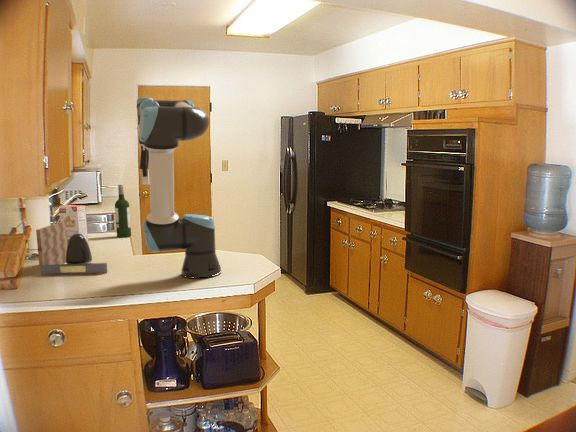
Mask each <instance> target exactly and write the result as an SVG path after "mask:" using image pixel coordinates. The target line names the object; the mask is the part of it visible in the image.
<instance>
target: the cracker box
mask: <svg viewBox="0 0 576 432" xmlns="http://www.w3.org/2000/svg"><path fill="white" fill-rule="evenodd" d="M58 211H59V220H60V221H59V222H64V221H66V233H67V245H68V242H69V239H70V238H71V236H72V235H74V234H77V233H78V234H82V235H83V236H84V238H85V239H86V241H87V243H88V244H89V235H88V234H89V233H88V222H87V209H86V205H78V204H77V205H75V204H64V205H62V204H61V205H58Z"/></svg>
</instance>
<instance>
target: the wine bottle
mask: <svg viewBox="0 0 576 432" xmlns="http://www.w3.org/2000/svg"><path fill="white" fill-rule="evenodd" d="M117 187H118V199H117V200H116V202H115V203H114V212H115V213H114V214H115V227H116V237H117V238H119V239H120V238H122V239H123V238H125V239H126V238H130V237H132V227H131V226H132V225H131V212H130V202H129V201H128V200H127V199H125V192H124V184H117Z"/></svg>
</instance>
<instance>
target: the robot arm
mask: <svg viewBox="0 0 576 432" xmlns="http://www.w3.org/2000/svg"><path fill="white" fill-rule="evenodd" d="M135 106H136V114H137V127H136V129H137V130H138V143H139V144H140V159H139V160H140V161H139V169H140V170H141V174H142V175H141V178H142V180H141V181H142V186H143V185H145V186H146V185H149V202H150V203H149V204H150V207H149V210H150V211H149V212H150V213H148V214H147V215H146V220H144V221H143V222H142V223H141V224H142V230H143V234H144V240H145V244H146V247H147V248H146V249H147V250H148V252H152V253H153V252H154V253H157V252H160V253H162V252H171V251H177V250H179V251H180V250H184V253H185V254H184V259H183V263H182V267H181V276H182V275H183V276H186V277H194V278H193V279H200V278H199V277H208V276H212V275H215V274H217V273H219V272H220V271H221V272H222V268H221V264H220V261H219V260H218V259H219V258H218V256H217V253H216V238H215V237H216V233H215V229H216V228H215V221H214V218H213V217H212V216H210V215H209V216H208V215H203V214H194V213H193V214H190V213H186V214H184V215H182V218H180V217H179V215H178V213H176V212H175V163H174V162H175V155H174V154H175V152H174V151H175V150H177V148H178V147H179V142H180V141H182V142H185V141H193V140H196V139H198V138H200V137H202V136H203V135H204V134H205V133H206V131H207V130H208V128H209V126H210V119H209V116H208V113H206V111H205V110H203V109H201V108H199V107H196V106H195V105H194V102H193V101H192V100H186V99H183V100H164V99H163V100H162V99H159V100H158V99H154V98H152V97H140V98H137V99H136V105H135ZM148 168H149V169H148ZM183 276H182V277H183ZM186 277H185V278H186ZM195 277H197V278H195ZM208 278H209V277H208Z"/></svg>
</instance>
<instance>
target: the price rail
mask: <svg viewBox="0 0 576 432" xmlns="http://www.w3.org/2000/svg"><path fill="white" fill-rule="evenodd" d="M40 268H41V274H40V276H67V275H98V274H97V273H106V274H108V273H109V272H108V263H107V262H93V263H92V262H91V263H86V264H67V263H64V264H51V265H41V266H40V267H39V269H40ZM107 272H108V273H107Z"/></svg>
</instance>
